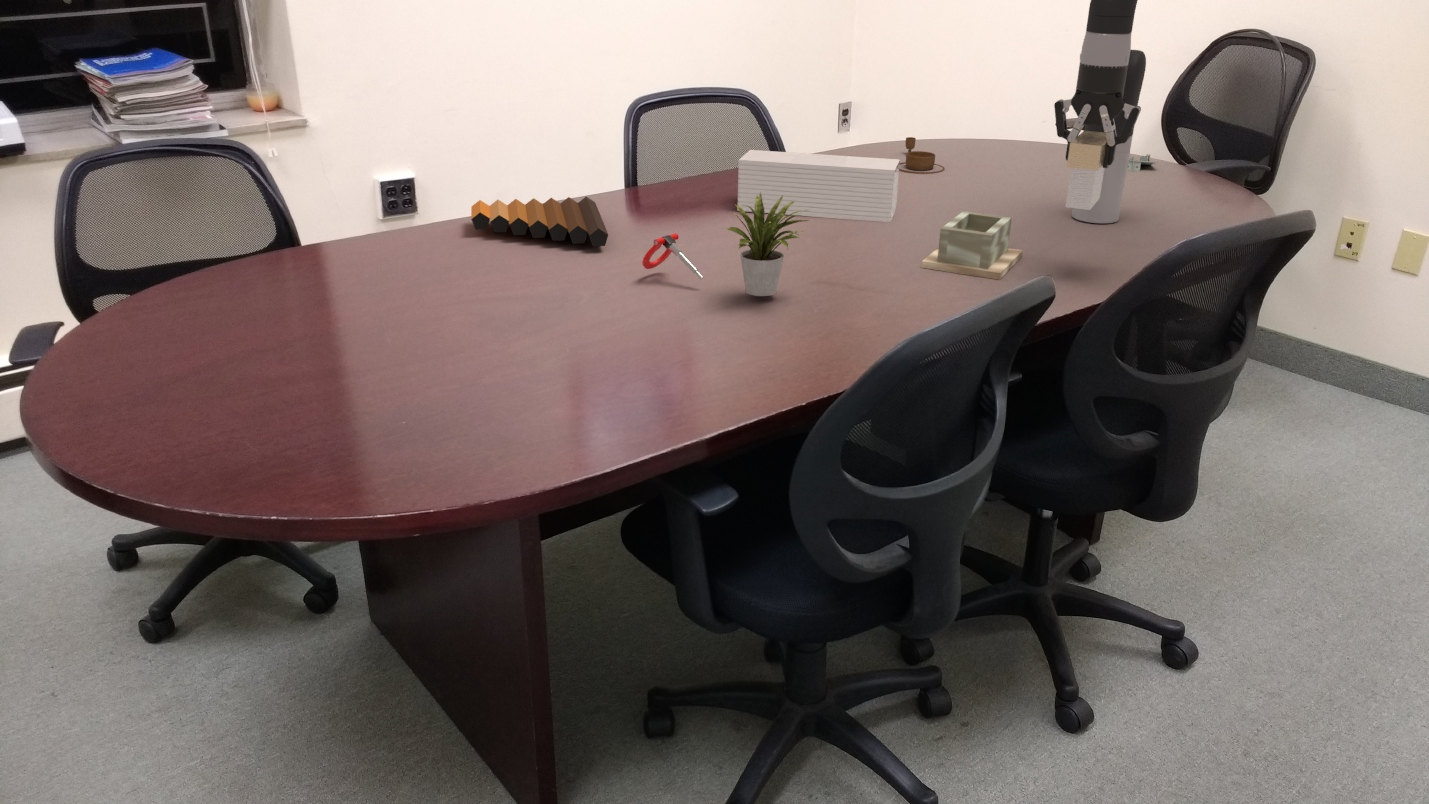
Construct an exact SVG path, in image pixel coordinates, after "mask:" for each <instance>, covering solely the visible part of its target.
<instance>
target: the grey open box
mask: <svg viewBox="0 0 1429 804" xmlns="http://www.w3.org/2000/svg"><path fill="white" fill-rule="evenodd" d="M1012 221H1013V218H1012V217H1011V216H1009V217H1008V216H1002V215H997V214H989V213H988V214H986V213H980V212H973V211H966V210H963V211H961V212H960V213H959V214H957V215H956V216H955V217H953V218H952V219H951V220H950V221H948V222H947V223H946V224H944V225H943V226H942V227H940V230H939V241H938V247H937V248H936V249H935V250H933V251H932V252H931V253H930V254H928V255H927V256H926V257H925V258H924V259H922V261H921V266H920V267H921V268H922V269H928V270H935V271H940V272H946V273H947V272H948V273H953V274H961V275H966V276H973V277H974V276H975V277H980V278H987V279H990V280H992V279H993V280H1000V281H1001V279H1003V277H1004V276H1005V275H1006V274H1007V273H1008V272H1009V271H1010V270H1011V269H1012V268H1013V266H1015V264H1017V262H1019V260H1020V259H1021V258H1022V257H1023V249H1017V248H1009V243H1010V235H1011V229H1012V228H1011V227H1012Z"/></svg>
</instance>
